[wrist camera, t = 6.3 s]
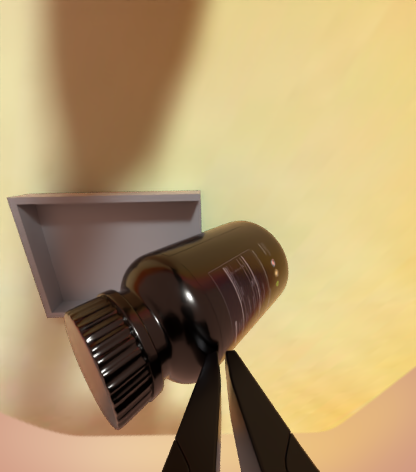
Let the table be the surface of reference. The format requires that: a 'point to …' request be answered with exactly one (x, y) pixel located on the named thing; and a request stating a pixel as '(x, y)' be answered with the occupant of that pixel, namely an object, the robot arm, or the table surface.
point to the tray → (96, 238)
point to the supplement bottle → (174, 314)
